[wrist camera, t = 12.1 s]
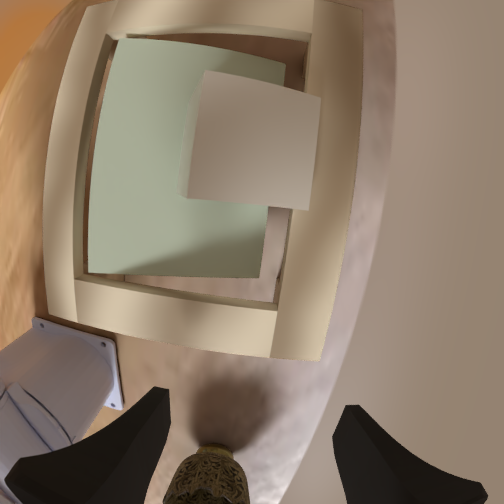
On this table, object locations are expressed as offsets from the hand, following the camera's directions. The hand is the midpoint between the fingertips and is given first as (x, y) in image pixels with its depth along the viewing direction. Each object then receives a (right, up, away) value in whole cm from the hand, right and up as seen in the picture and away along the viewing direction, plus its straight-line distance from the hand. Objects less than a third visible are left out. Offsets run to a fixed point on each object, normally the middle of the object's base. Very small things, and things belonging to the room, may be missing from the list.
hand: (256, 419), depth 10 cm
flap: (-5, +12, +6) cm, 14 cm away
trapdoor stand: (-3, +12, +8) cm, 15 cm away
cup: (-4, -13, +14) cm, 19 cm away
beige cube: (-1, +12, +3) cm, 12 cm away
